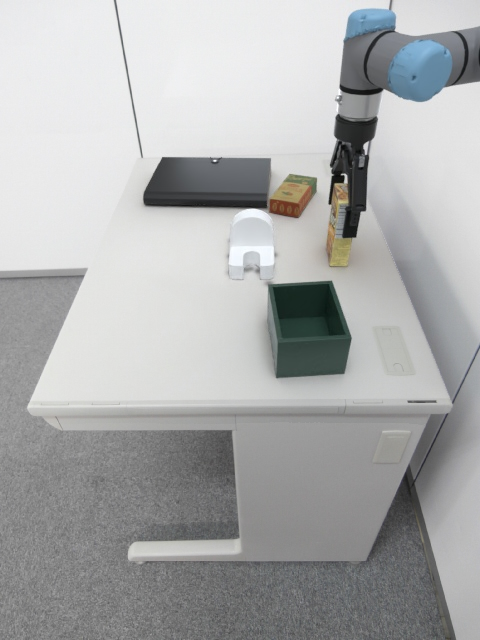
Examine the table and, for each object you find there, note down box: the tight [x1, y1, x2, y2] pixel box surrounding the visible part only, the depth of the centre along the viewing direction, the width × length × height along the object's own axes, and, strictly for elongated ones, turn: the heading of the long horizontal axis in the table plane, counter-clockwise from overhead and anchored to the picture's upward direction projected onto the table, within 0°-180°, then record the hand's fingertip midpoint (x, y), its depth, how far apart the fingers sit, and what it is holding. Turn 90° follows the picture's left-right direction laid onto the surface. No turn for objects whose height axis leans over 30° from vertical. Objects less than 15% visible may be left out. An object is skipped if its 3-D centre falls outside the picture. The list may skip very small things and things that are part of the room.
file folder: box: [142, 156, 272, 208], centre depth 125 cm, size 33×4×24 cm
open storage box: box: [266, 280, 353, 379], centre depth 76 cm, size 15×12×9 cm
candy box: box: [325, 182, 353, 267], centre depth 94 cm, size 9×4×15 cm, turn 178°
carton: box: [268, 173, 318, 218], centre depth 117 cm, size 8×16×4 cm, turn 157°
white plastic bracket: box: [228, 208, 275, 280], centre depth 97 cm, size 10×18×11 cm, turn 178°
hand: (341, 219), depth 93 cm, fingers open, 13 cm apart
